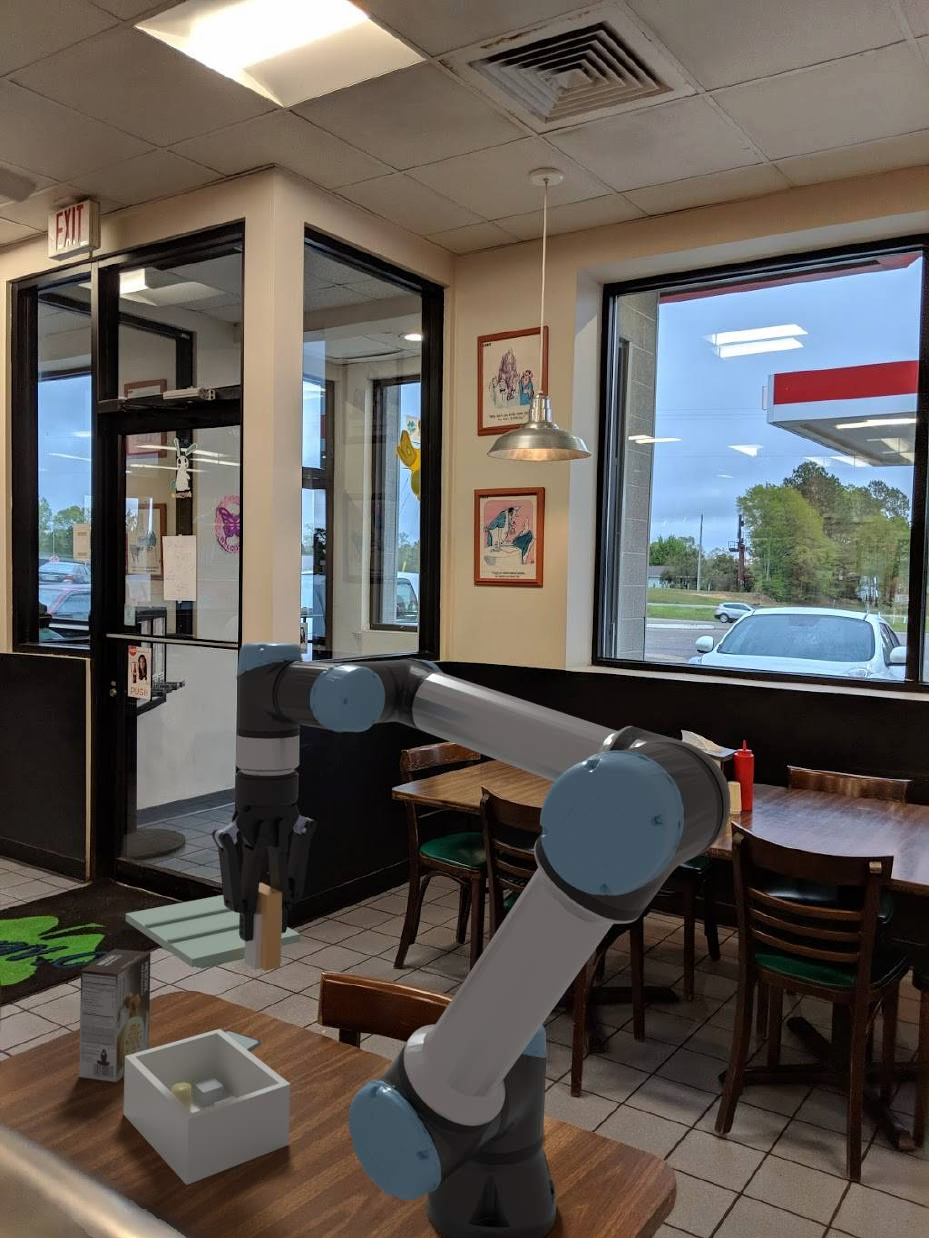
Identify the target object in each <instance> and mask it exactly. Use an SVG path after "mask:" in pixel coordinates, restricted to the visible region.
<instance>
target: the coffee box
mask: <svg viewBox="0 0 929 1238" xmlns="http://www.w3.org/2000/svg"><path fill="white" fill-rule="evenodd" d="M151 954H152V952H150V951H139V950H138V951H137V950H130V949H120V948H119V949H118V948H114V949H112V950H110V951H109V952H108V953H106V954H105V955H103V956H101V957H100V958H97V959H96V960H95V961H93V962H91V963H89V965H87V966H85V967H83V968H82V969H81V970H80V1001H79V1002H80V1005H79V1006H80V1007H79V1008H80V1009H79V1010H80V1011H79V1016H80V1017H79V1058H78V1059H79V1061H78V1062H79V1064H78V1065H79V1067H78V1070H79V1071H78V1072H79V1073H78V1076H79V1077H80V1078H84V1079H89V1080H99V1081H106V1082H112V1083H113V1082H114V1083H117V1082H119V1081H120V1080H121V1079H122V1078H123V1077H124V1076H125V1056H127V1055H131V1054H134V1053H137V1052H141V1051H144V1050H148V1049H150V1010H151V1009H150V1005H151V1003H150V1001H151Z"/></svg>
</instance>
